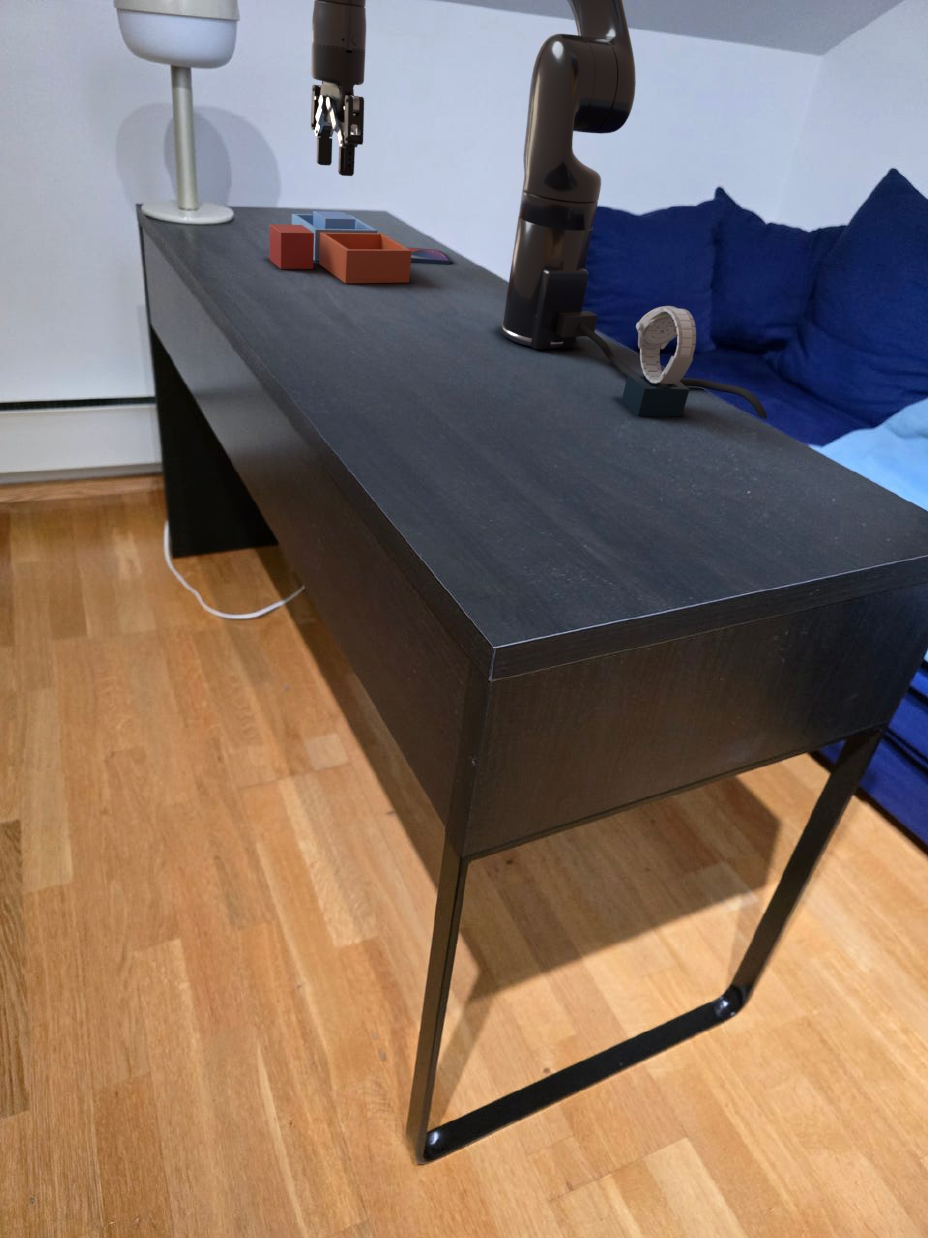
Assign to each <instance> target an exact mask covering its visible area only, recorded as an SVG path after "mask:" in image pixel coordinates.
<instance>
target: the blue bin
mask: <svg viewBox="0 0 928 1238" xmlns="http://www.w3.org/2000/svg"><path fill="white" fill-rule="evenodd" d="M348 215H349V216H351V217H352V218H354V219H355V229H317V228H316V227H314V226H313V213H312V214H311V213H291V225H303V226H304V227H306V228H307V229H309V230H310V231H312V232H313V233H314V260H313V262H319V255H320V233H378V230H377V229H376V228H374V227H372V226H371V225H369V224H368V223H365V222H364V221H362V220H360V219H358V218H357V217H356V216H353V215H352V214H348Z"/></svg>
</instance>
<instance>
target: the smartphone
mask: <svg viewBox="0 0 928 1238" xmlns="http://www.w3.org/2000/svg"><path fill="white" fill-rule="evenodd" d="M405 247H406V248H408V249H410V250H411V251H412V253H411V263H419V264H421V263H422V264H438V265H439V264H440V265H449V264H451V259H450V258H449V257H448V256H447V255H446V254H444V253H443V252H442V251H441V250H438V249H432V248H418V247H407V246H405Z"/></svg>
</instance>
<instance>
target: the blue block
mask: <svg viewBox="0 0 928 1238" xmlns="http://www.w3.org/2000/svg"><path fill="white" fill-rule="evenodd" d="M312 214H313V226H314V227H316V228H317V229H355V219H354V218H352V217H351V216H349V215H350V214H347V213H346V212H343V211H322V210H319V211H318V210H313V211H312Z"/></svg>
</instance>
